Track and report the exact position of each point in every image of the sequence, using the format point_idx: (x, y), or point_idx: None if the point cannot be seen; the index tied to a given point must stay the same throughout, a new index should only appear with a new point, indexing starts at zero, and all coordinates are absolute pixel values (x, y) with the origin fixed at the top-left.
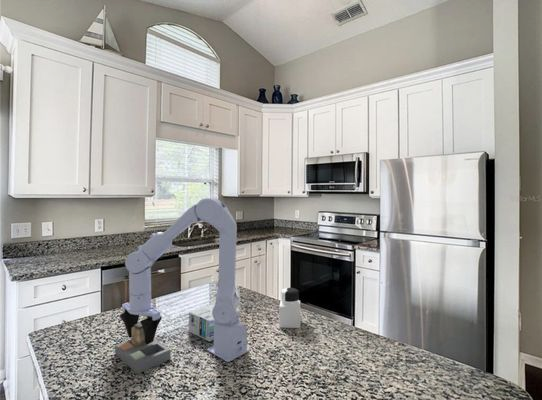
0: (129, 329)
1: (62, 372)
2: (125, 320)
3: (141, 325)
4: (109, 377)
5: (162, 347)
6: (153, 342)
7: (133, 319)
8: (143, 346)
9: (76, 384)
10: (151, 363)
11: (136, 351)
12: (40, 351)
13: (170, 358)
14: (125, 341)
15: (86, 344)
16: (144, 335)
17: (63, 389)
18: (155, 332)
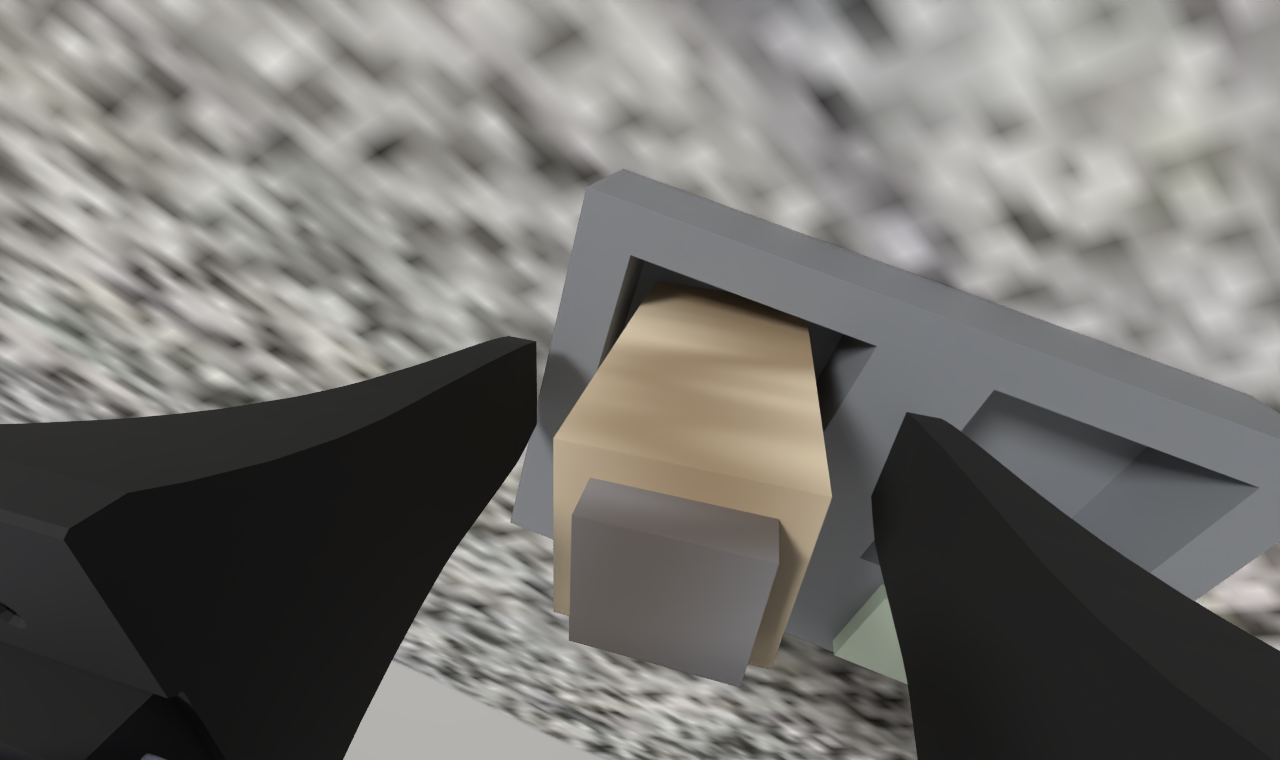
0: (474, 502)
1: (472, 655)
2: (364, 711)
3: (725, 644)
4: (784, 671)
5: (1170, 452)
6: (913, 374)
7: (364, 549)
8: (842, 490)
9: (653, 719)
10: None
11: (838, 580)
12: None
13: (1254, 399)
14: (532, 447)
15: (208, 405)
16: (901, 637)
17: (633, 744)
18: (1047, 505)
